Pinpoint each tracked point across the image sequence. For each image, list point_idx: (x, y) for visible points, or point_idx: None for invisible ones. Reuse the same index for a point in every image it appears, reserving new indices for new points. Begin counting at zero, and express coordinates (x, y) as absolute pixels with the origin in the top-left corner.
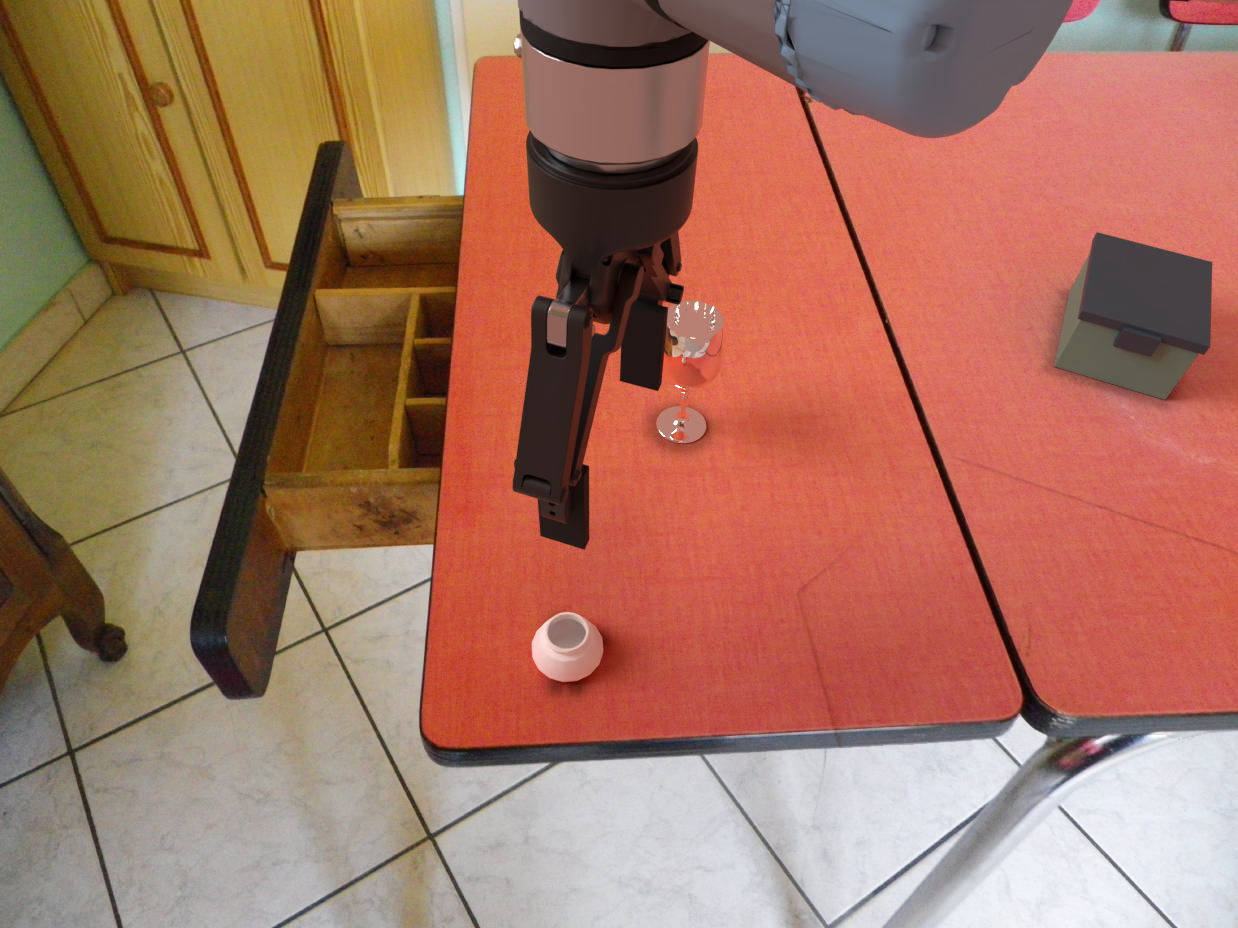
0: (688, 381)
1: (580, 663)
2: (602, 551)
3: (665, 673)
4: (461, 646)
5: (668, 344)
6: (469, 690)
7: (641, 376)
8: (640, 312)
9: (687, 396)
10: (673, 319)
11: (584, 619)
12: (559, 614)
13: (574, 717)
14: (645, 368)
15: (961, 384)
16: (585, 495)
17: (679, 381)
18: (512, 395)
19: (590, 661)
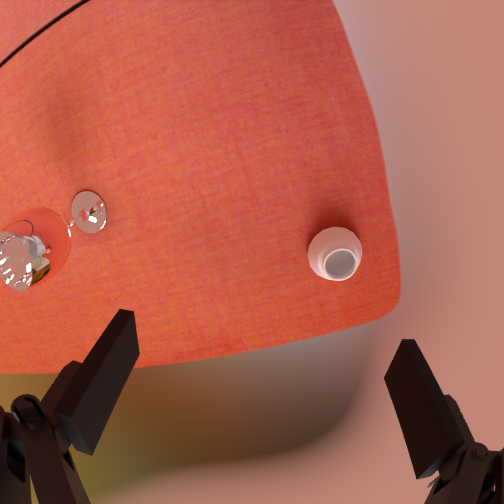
0: (64, 236)
1: (356, 244)
2: (235, 246)
3: (339, 174)
4: (338, 317)
5: (43, 276)
6: (369, 303)
7: (130, 343)
8: (85, 435)
9: (69, 221)
10: (17, 272)
11: (321, 252)
12: (326, 274)
13: (382, 234)
14: (122, 350)
15: (10, 23)
16: (447, 409)
17: (68, 244)
18: None
19: (350, 236)
